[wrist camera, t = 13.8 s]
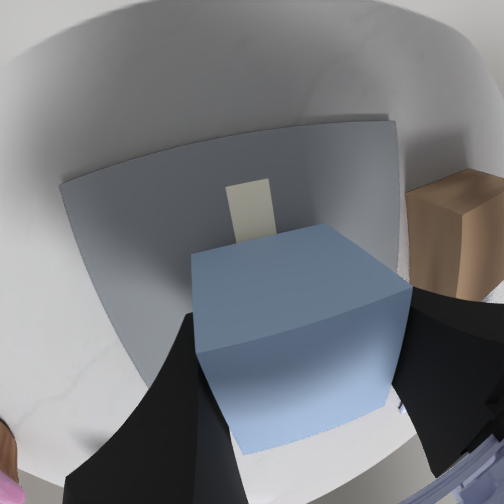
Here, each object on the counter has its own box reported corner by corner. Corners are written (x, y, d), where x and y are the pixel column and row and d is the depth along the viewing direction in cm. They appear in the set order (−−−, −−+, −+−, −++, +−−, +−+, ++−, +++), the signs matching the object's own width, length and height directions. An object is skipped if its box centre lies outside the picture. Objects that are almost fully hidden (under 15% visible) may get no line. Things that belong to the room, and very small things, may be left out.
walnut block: (466, 167, 13) (517, 182, 9) (466, 252, 15) (507, 276, 12) (402, 192, 12) (462, 214, 9) (407, 288, 15) (451, 324, 11)
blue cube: (325, 222, 10) (413, 286, 6) (329, 326, 12) (384, 405, 8) (191, 254, 10) (195, 353, 5) (222, 356, 12) (243, 455, 7)
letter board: (389, 120, 10) (395, 121, 10) (384, 331, 15) (388, 335, 15) (62, 183, 9) (58, 185, 8) (157, 395, 14) (157, 401, 13)
